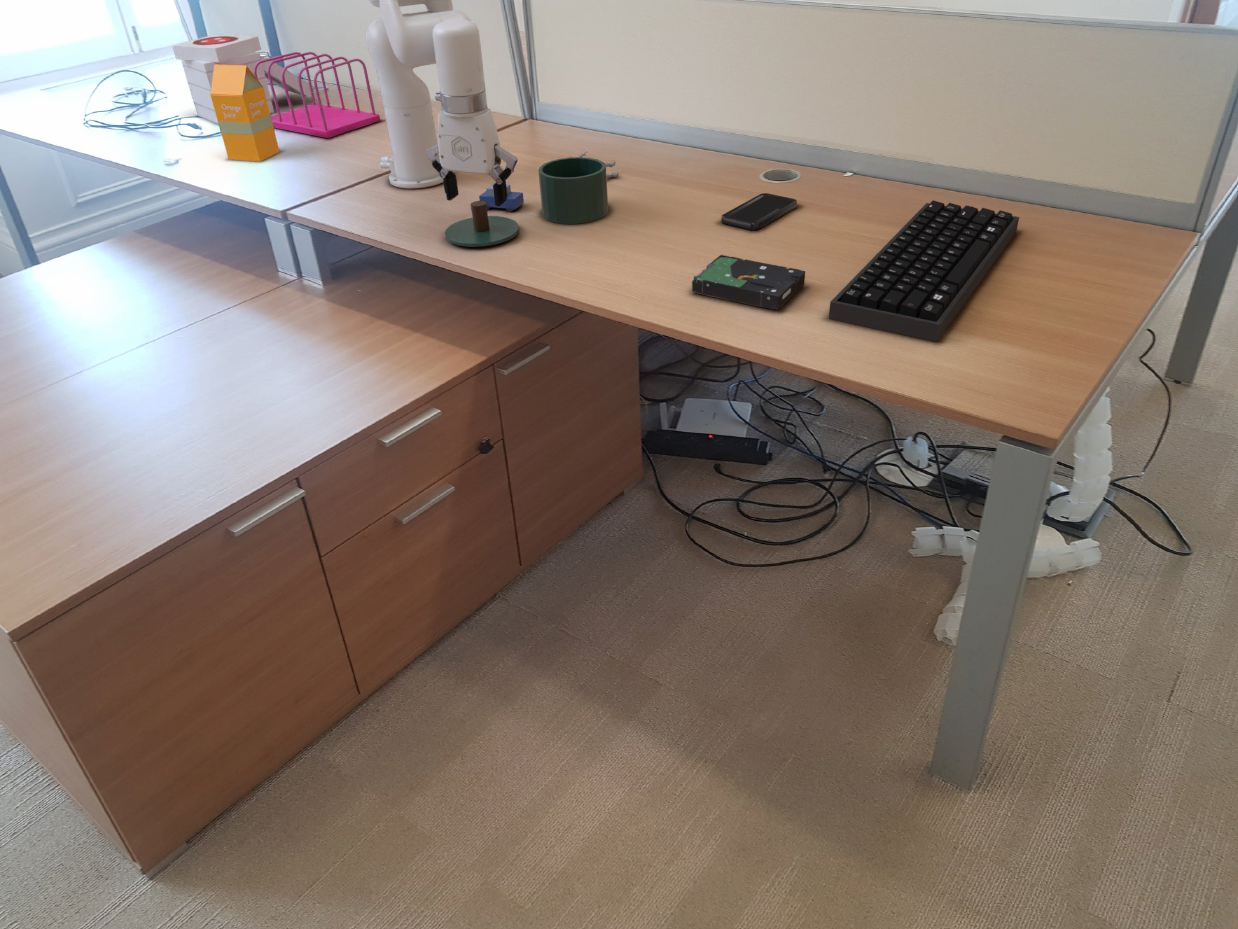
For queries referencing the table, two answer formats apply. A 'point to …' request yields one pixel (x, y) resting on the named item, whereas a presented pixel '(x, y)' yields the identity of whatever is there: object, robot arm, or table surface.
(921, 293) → the computer keyboard
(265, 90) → the pizza boxes
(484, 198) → the toy car
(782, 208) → the phone
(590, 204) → the tin
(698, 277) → the disk drive
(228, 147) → the orange juice
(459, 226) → the lid
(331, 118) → the file sorter
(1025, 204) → the table surface
